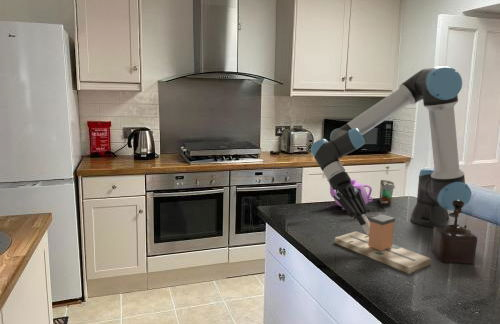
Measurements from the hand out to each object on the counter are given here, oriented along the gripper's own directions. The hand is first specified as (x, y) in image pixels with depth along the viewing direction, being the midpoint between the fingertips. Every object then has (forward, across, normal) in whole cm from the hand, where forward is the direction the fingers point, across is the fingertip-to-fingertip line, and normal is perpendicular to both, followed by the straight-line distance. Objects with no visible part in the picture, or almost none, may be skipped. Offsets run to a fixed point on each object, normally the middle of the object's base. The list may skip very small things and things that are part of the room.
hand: (370, 232), depth 140 cm
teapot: (-22, -33, -31) cm, 51 cm away
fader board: (+7, -1, -2) cm, 7 cm away
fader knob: (+6, -1, 0) cm, 6 cm away
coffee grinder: (+18, -20, +8) cm, 28 cm away
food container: (-19, -57, -28) cm, 67 cm away
